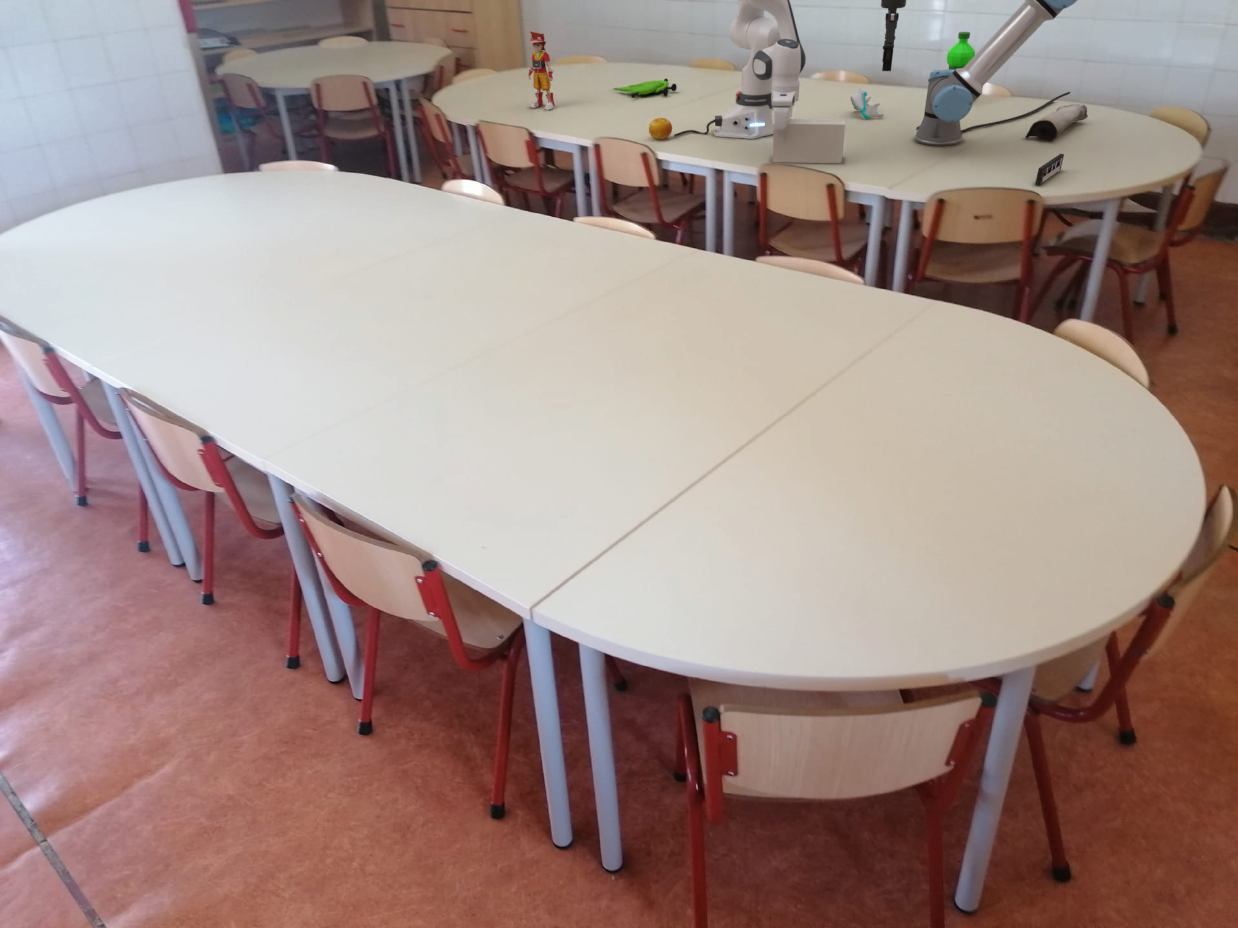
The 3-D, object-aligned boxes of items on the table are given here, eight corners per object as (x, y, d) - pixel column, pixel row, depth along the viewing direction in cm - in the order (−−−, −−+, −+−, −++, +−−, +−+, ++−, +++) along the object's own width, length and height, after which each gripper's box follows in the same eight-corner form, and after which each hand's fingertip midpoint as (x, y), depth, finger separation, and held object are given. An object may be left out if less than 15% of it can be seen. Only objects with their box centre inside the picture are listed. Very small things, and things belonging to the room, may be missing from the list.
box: (772, 162, 303) (773, 124, 295) (773, 157, 308) (775, 119, 300) (841, 163, 297) (844, 124, 290) (842, 158, 302) (845, 119, 295)
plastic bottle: (973, 101, 354) (984, 32, 339) (955, 106, 349) (966, 36, 335) (952, 97, 361) (962, 29, 346) (934, 102, 356) (944, 33, 342)
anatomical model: (845, 88, 347) (871, 81, 346) (848, 115, 353) (873, 108, 352) (857, 97, 335) (883, 90, 334) (859, 125, 341) (885, 118, 340)
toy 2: (686, 85, 398) (631, 84, 414) (685, 72, 395) (629, 72, 411) (651, 104, 381) (596, 103, 397) (650, 92, 378) (594, 91, 394)
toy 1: (525, 109, 381) (517, 32, 364) (534, 104, 388) (527, 28, 371) (550, 110, 377) (543, 32, 360) (559, 105, 384) (553, 28, 367)
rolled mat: (1054, 109, 326) (1079, 92, 318) (1068, 130, 327) (1093, 113, 318) (1021, 132, 309) (1046, 114, 301) (1035, 154, 309) (1061, 137, 301)
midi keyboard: (1039, 185, 269) (1043, 168, 266) (1035, 184, 270) (1038, 168, 267) (1060, 170, 279) (1064, 154, 277) (1056, 169, 280) (1060, 153, 277)
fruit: (641, 130, 330) (653, 111, 327) (649, 133, 338) (660, 114, 335) (659, 143, 329) (671, 123, 326) (666, 146, 337) (678, 126, 334)
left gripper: (779, 87, 301) (776, 129, 309) (771, 102, 285) (769, 146, 293) (798, 87, 300) (795, 130, 307) (791, 102, 284) (789, 146, 291)
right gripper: (907, -1, 268) (898, 75, 280) (906, -13, 288) (898, 58, 300) (881, -1, 269) (874, 75, 282) (882, -12, 289) (875, 58, 301)
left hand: (782, 138), depth 300 cm, fingers open, 7 cm apart
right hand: (886, 66), depth 291 cm, fingers open, 13 cm apart
